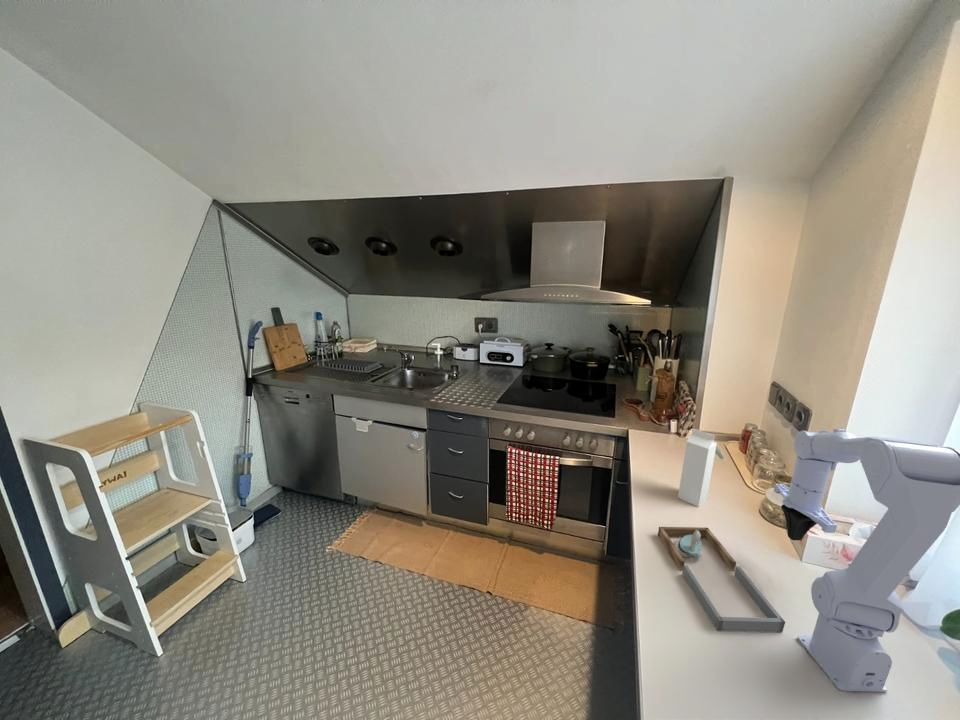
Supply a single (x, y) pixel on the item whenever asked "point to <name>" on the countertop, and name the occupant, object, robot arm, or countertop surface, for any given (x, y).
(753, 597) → the grey bin
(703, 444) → the milk
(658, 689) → the countertop surface
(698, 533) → the pacifier
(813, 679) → the countertop surface
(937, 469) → the robot arm
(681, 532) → the walnut bin
